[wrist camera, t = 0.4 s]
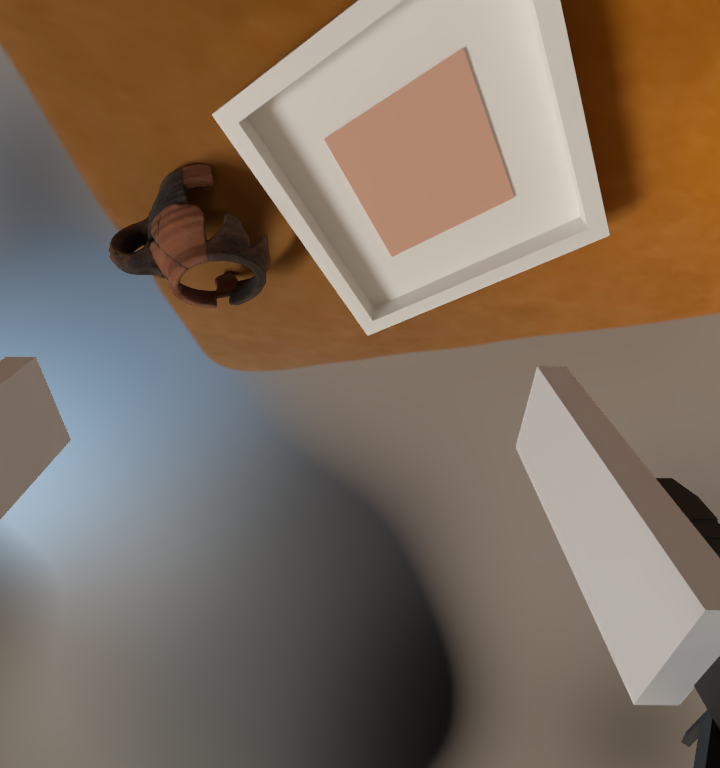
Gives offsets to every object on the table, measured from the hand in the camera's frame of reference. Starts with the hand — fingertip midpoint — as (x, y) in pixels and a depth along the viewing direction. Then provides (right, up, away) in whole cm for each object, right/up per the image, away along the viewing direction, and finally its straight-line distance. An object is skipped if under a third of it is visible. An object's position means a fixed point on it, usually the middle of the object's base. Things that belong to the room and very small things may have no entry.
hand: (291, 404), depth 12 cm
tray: (+6, +17, +20) cm, 27 cm away
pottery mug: (-11, +14, +25) cm, 30 cm away
